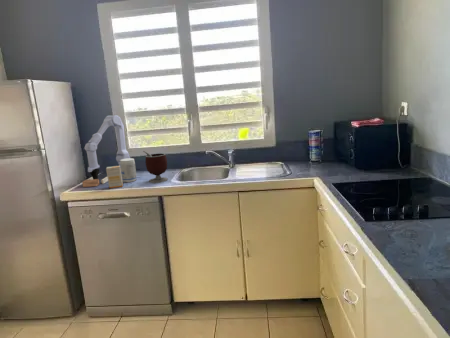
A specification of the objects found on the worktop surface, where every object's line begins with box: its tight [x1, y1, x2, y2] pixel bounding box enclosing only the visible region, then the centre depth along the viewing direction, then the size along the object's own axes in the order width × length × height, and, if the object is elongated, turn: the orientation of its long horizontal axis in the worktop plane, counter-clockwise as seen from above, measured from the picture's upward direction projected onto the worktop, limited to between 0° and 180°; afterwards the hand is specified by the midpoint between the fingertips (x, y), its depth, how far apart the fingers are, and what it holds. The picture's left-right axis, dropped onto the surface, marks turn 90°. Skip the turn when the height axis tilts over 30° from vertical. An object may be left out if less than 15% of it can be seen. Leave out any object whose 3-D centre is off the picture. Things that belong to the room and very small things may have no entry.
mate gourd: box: [142, 150, 169, 184], centre depth 233 cm, size 16×14×20 cm
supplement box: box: [105, 165, 124, 189], centre depth 225 cm, size 8×5×13 cm, turn 98°
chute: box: [86, 176, 108, 185], centre depth 246 cm, size 16×13×2 cm
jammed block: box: [81, 178, 100, 188], centre depth 233 cm, size 5×9×4 cm, turn 87°
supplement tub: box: [120, 157, 138, 183], centre depth 239 cm, size 10×10×15 cm
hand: (95, 180), depth 241 cm, fingers closed
